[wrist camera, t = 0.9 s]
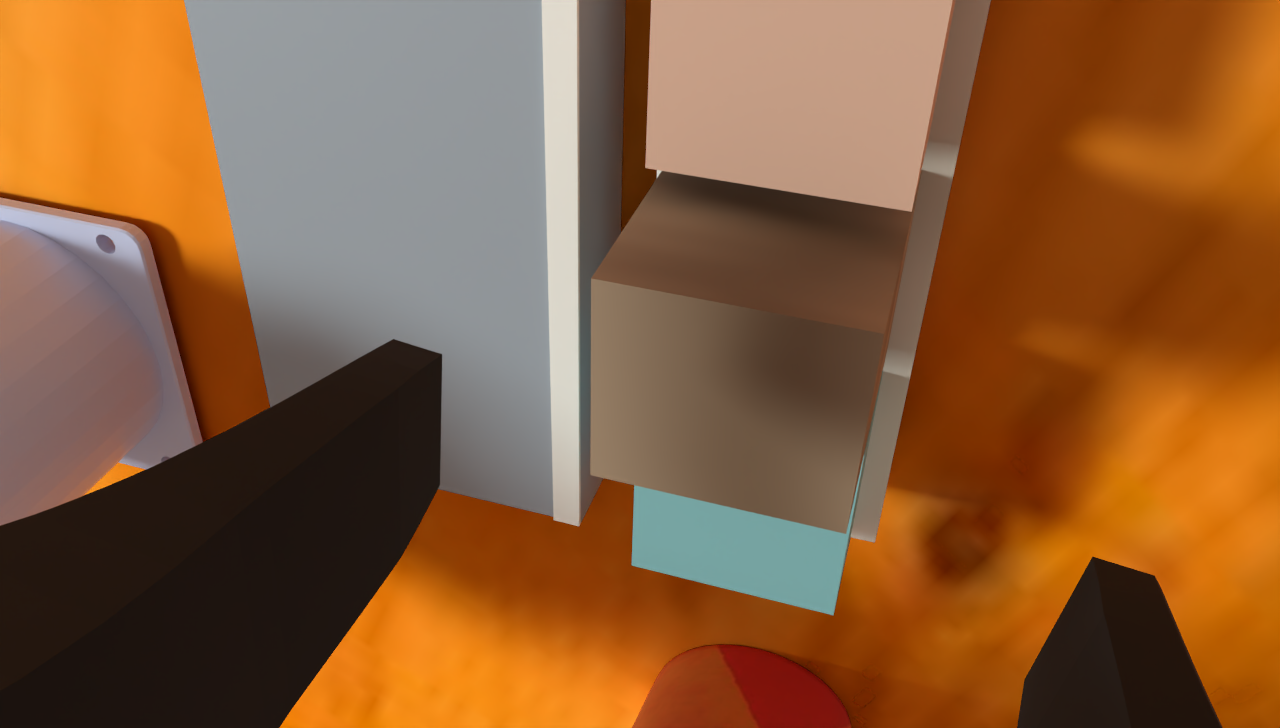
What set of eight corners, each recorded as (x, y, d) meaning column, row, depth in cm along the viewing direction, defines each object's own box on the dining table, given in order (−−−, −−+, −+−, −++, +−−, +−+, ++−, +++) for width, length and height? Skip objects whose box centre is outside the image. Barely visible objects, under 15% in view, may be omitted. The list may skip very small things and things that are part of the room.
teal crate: (666, 484, 24) (631, 565, 22) (675, 329, 22) (637, 406, 20) (852, 526, 23) (833, 615, 21) (883, 371, 21) (864, 454, 19)
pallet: (669, 433, 26) (564, 666, 20) (705, -199, 18) (550, -93, 13) (886, 480, 25) (836, 740, 19) (1025, -170, 17) (1007, -42, 12)
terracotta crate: (688, 105, 19) (645, 168, 17) (702, -150, 17) (654, -111, 15) (928, 140, 18) (911, 211, 16) (979, -123, 16) (967, -79, 14)
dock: (333, 389, 28) (277, 453, 26) (218, -298, 19) (120, -281, 17) (615, 452, 27) (579, 526, 25) (631, -267, 18) (575, -244, 16)
